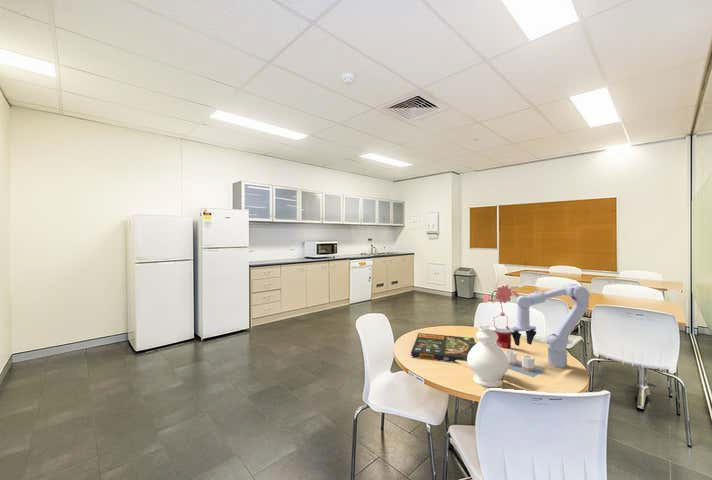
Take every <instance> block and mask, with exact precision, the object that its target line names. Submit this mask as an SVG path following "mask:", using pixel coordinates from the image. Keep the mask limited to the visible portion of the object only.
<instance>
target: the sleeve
mask: <svg viewBox="0 0 712 480" xmlns="http://www.w3.org/2000/svg"><path fill="white" fill-rule="evenodd" d="M521 361H522V369H523V370H526V371H534V365H535V358H534V356H532V355H529V354H524V355H521Z"/></svg>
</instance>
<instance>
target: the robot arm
mask: <svg viewBox="0 0 712 480" xmlns="http://www.w3.org/2000/svg"><path fill="white" fill-rule="evenodd" d="M560 296H565V297H566V296H567V297H570V298H571V300H572V301H573V306H572V308H571V309H570V311H569V312H568V314H567V315H566V317H565V318H564V319H563V321H562V322H561V324H560V325H559V327H558V328H557V329H556V330H553V332H552V333H551V334H549V335H548V336H547V337H546V343H547V344H548V347H547V360H548V361H547V363H548V365H549V366H551V367H554V368H565V367H566V366H569V365H568V354H567V351H566V350H567V344H568V343H569V336H570V335H571V333H572V332H573V331H574V329H575V328H576V326H577V325H578V324H579V322H580V320H581V319H582V318H583V317H584V315H585V313H586V312H587V310H589V305H590V303H589V302H590V301H589V300H590V297H591V295H590V293H589V291H588V289H587V288H586V287H585V286H582V285H581V286H580V285H578V284H575V283H571V284H567V285H563V286H560V287H557V288H555V289H551V290H548V291H545V292H543V291H538V290H535V291H534V292H532V293H529V294H528V293H525V295H519V297H518V298H517V297H516V299H515V303H516V306H517V307H516V308H517V310H516V315H517V316H516V325H515V326H513V327H509V329H510V333H511V334H512V335H511V337H512V338H513V342H514V344H515V346H518V347H519V346H520V343H521V342H520V341H521V340H520V339H521V336H522V333H520V332H525V335H526V343H527V344H528V345H530V346H531V345H532V343H533V341H534V337H535V336H536V335H537V326H535V325H530V323H531V322H530V321H531V319H530V307H531V306H535V305H539V304H542V303H546V300H548V299H551V298H556V297H560Z"/></svg>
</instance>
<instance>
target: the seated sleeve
mask: <svg viewBox="0 0 712 480" xmlns="http://www.w3.org/2000/svg"><path fill="white" fill-rule="evenodd" d="M504 354H505V355H506V357H507V359H508V362H509V365H512V366H515V365H517V360H518V359H517V352H516V351H514V350H511V349H506V350H504Z"/></svg>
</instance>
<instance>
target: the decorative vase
mask: <svg viewBox="0 0 712 480" xmlns="http://www.w3.org/2000/svg"><path fill="white" fill-rule="evenodd" d="M495 327H496V326H495ZM495 327H494V325H486V324H484V325H483V324H481V325H478V329H479V331H477V332H476V338H477V339H478V340H479V341H478V342H477V343H475V345H474V346H473V347H472V349H471V350H470V351H469V353H468V356H467V361H466V362H467V365H468V367H469V368H470V369H471V371H472V372H473V373H474V375H473V381H474V382H475V383H476V384H477V385H480V386H483V387H488V388H498V386H499V387H501V386H502V385H503V380H502V379H501V378H502V377H503V376H504V375H505V374H506V373H507V372H508V370H509V369H508V368H509V362H508V359H507V357H506V355H505V351H504V350H502V348H501V347H499V346H498V345H497V344H496V341H497V340H498V335H497V334H496V333H495V332H494V331H496V328H497V327H496V328H495Z"/></svg>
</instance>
